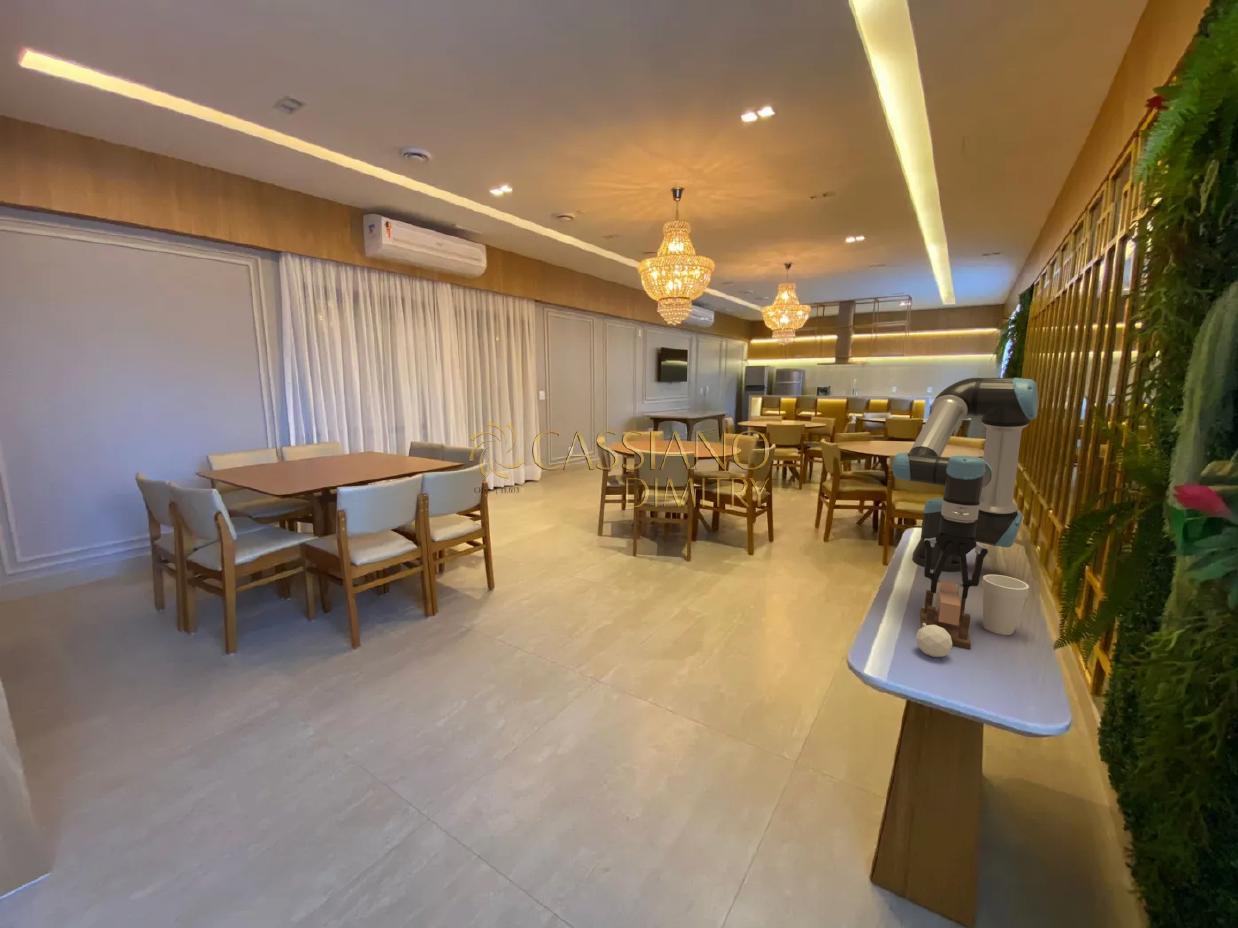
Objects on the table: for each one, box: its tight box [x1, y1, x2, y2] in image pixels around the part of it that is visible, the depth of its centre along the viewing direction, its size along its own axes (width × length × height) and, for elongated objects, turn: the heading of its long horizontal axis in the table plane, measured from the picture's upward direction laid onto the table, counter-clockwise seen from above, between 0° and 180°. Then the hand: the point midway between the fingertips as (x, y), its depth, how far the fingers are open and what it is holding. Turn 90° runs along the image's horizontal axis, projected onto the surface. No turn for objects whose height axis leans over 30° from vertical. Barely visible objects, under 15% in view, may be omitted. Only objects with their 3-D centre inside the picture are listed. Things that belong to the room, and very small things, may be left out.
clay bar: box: [936, 579, 961, 625], centre depth 127 cm, size 16×4×5 cm, turn 150°
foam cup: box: [981, 574, 1030, 636], centre depth 128 cm, size 10×9×13 cm
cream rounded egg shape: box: [915, 623, 953, 658], centre depth 117 cm, size 7×7×8 cm
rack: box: [919, 589, 972, 651], centre depth 128 cm, size 16×10×8 cm, turn 150°
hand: (946, 606), depth 127 cm, fingers closed on clay bar, 4 cm apart
